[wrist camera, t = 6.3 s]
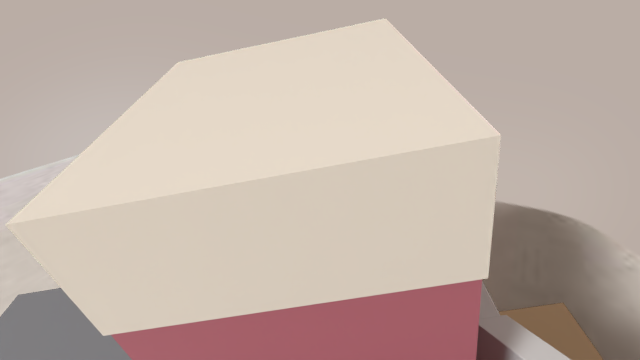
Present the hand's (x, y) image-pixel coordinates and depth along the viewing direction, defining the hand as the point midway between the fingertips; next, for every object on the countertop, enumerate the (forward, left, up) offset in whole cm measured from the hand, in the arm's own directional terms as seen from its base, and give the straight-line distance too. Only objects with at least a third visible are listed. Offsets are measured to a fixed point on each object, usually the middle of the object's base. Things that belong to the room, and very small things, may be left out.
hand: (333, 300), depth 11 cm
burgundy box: (0, -1, -9) cm, 9 cm away
